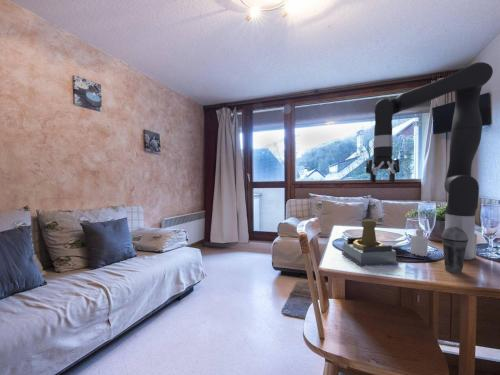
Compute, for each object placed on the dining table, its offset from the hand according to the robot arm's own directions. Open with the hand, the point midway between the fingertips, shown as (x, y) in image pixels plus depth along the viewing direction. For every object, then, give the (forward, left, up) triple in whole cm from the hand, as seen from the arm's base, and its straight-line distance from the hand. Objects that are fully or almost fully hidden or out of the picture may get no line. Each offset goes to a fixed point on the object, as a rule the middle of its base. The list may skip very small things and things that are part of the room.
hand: (382, 182), depth 111 cm
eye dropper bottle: (-10, +10, -30) cm, 33 cm away
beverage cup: (-9, +27, -30) cm, 42 cm away
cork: (+13, +11, -25) cm, 30 cm away
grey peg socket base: (+13, +11, -30) cm, 35 cm away
